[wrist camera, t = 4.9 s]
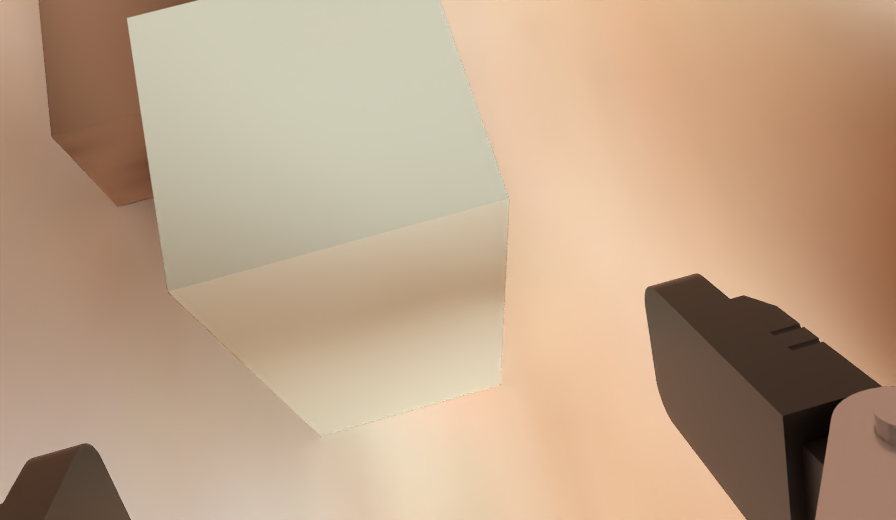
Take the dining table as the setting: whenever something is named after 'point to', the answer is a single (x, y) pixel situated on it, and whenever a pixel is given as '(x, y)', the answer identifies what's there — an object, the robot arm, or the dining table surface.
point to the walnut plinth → (98, 91)
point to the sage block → (327, 198)
